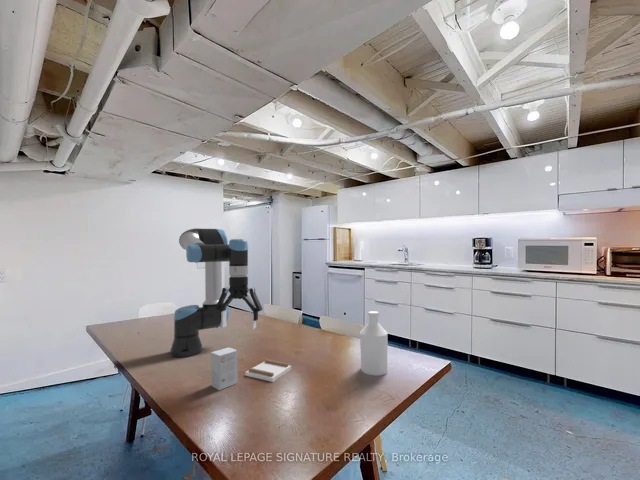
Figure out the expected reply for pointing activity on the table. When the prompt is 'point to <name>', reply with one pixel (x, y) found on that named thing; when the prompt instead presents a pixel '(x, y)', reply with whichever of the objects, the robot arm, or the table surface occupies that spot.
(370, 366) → the bottle
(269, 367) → the base plate
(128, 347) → the table surface
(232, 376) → the small box
